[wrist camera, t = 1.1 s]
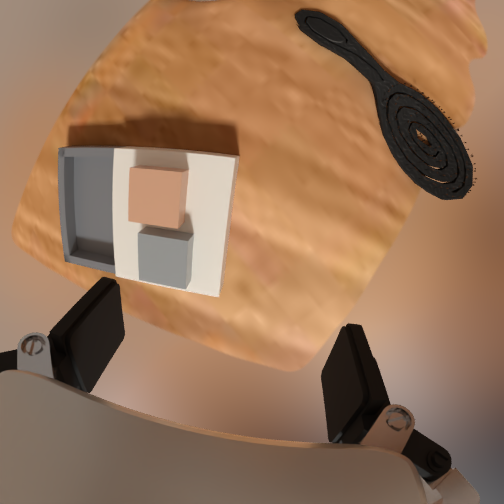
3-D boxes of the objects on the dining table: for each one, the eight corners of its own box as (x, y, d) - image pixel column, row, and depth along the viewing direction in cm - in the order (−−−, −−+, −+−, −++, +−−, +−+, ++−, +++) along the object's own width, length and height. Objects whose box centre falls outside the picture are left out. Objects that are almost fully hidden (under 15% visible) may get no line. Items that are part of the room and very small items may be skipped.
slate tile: (146, 226, 27) (137, 232, 25) (194, 233, 26) (188, 241, 25) (146, 270, 29) (139, 279, 27) (191, 279, 28) (185, 289, 27)
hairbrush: (327, -17, 16) (492, 171, 20) (323, -1, 20) (473, 167, 24) (267, 27, 19) (447, 221, 23) (270, 41, 22) (431, 212, 27)
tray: (71, 145, 27) (58, 148, 24) (126, 146, 26) (114, 147, 24) (75, 253, 32) (64, 261, 30) (125, 264, 32) (115, 273, 30)
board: (128, 146, 26) (114, 148, 24) (239, 155, 26) (235, 158, 23) (127, 264, 32) (115, 276, 29) (223, 283, 32) (218, 297, 29)
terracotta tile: (139, 165, 24) (129, 167, 22) (189, 169, 24) (182, 172, 22) (137, 215, 26) (128, 221, 24) (184, 222, 26) (177, 228, 24)
